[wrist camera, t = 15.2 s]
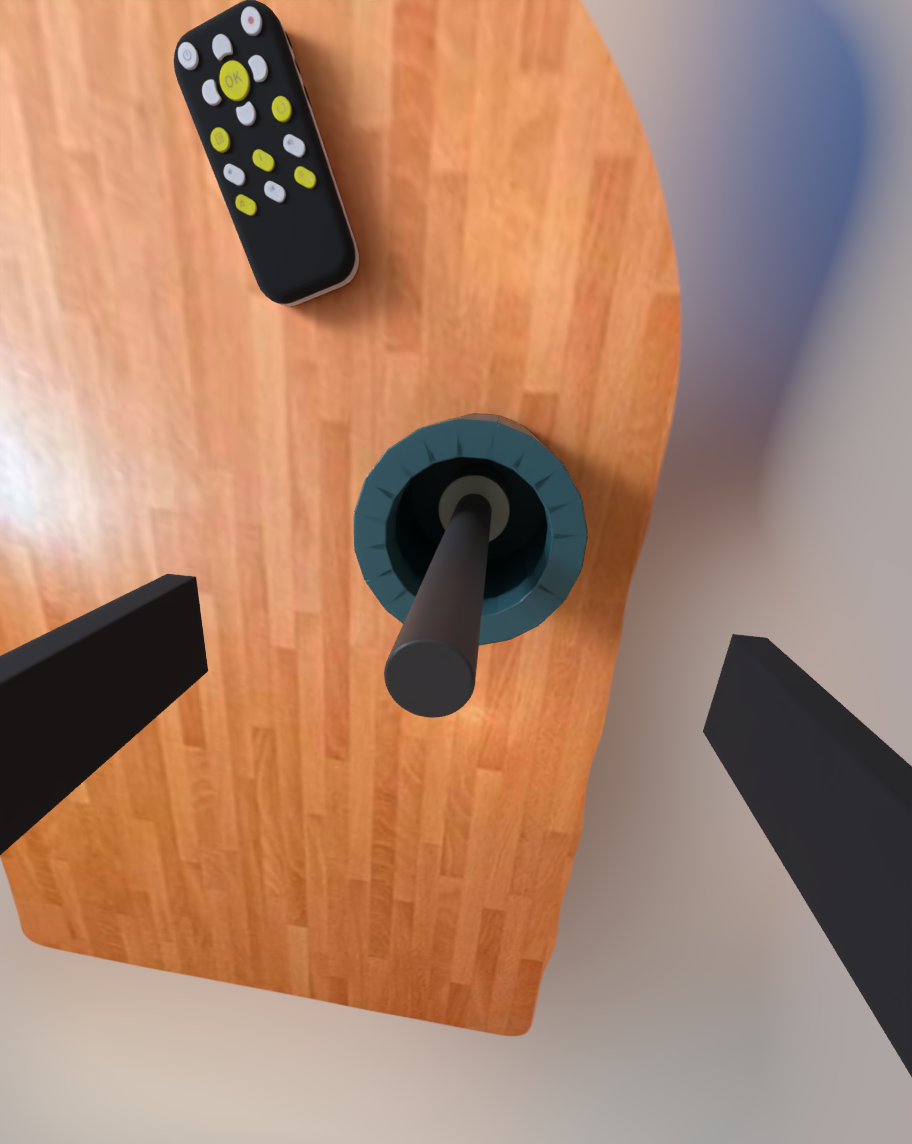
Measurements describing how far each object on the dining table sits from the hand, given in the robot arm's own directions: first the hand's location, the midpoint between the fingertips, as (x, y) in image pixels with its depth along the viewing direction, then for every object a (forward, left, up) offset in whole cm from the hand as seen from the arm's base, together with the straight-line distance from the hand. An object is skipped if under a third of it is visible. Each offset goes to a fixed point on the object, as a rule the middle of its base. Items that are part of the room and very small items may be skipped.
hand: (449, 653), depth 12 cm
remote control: (+13, -17, -22) cm, 31 cm away
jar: (0, 0, -21) cm, 21 cm away
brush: (0, 0, -20) cm, 20 cm away
